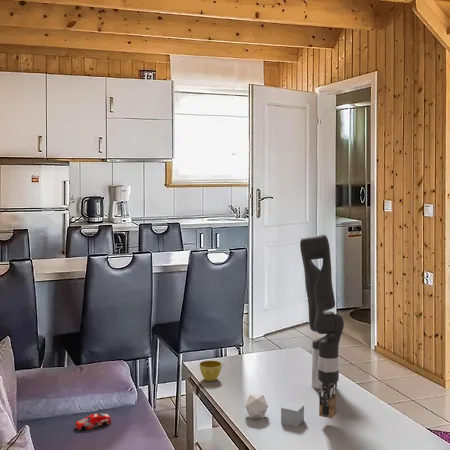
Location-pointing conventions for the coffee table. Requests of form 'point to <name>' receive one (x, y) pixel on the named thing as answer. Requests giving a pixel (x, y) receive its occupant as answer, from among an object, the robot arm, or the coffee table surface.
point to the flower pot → (210, 369)
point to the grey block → (292, 414)
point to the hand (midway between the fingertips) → (327, 412)
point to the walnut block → (330, 407)
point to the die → (256, 406)
